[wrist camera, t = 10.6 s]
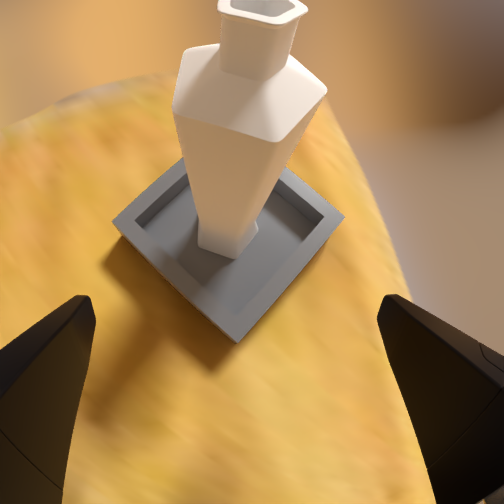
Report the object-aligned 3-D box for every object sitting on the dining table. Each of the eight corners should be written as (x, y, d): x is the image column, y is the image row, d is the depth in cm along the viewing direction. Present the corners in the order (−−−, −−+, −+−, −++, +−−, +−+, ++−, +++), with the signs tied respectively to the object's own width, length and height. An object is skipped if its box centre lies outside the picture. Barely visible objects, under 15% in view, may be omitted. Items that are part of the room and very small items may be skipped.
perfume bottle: (173, 220, 20) (126, -5, 5) (231, 185, 21) (267, -37, 6) (214, 280, 19) (229, 85, 5) (273, 240, 20) (386, 39, 6)
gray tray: (332, 230, 22) (345, 216, 19) (234, 343, 19) (237, 343, 16) (225, 142, 23) (227, 122, 20) (121, 234, 20) (111, 221, 17)
